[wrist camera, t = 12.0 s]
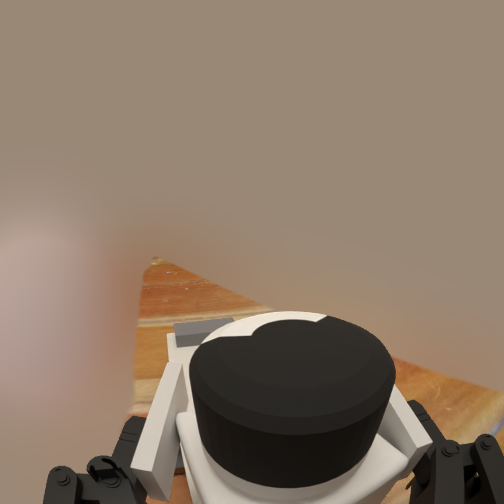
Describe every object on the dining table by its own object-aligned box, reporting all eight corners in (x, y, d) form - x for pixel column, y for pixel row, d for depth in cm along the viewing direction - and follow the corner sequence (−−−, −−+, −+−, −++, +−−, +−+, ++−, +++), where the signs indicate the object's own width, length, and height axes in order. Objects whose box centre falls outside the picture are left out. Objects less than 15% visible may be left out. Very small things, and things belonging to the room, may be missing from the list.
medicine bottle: (364, 524, 8) (464, 349, 6) (239, 578, 5) (205, 482, 3) (300, 454, 14) (321, 285, 12) (194, 486, 12) (153, 310, 9)
